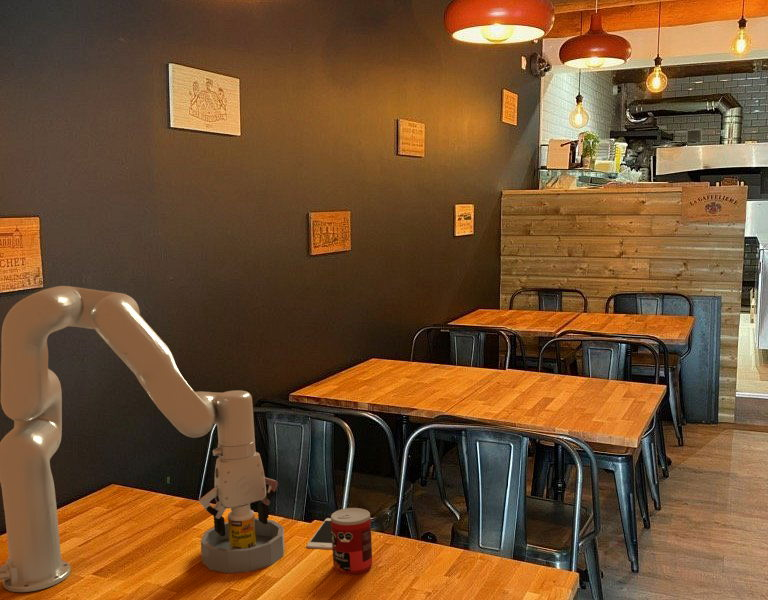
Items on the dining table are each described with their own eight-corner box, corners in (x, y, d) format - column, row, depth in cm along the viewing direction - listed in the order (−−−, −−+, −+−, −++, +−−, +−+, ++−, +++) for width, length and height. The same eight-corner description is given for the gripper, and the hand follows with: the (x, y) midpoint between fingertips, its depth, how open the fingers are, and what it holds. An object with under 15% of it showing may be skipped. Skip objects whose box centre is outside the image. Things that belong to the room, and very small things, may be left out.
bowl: (221, 580, 150) (220, 558, 150) (191, 552, 164) (190, 532, 164) (298, 556, 160) (296, 535, 159) (263, 531, 174) (262, 512, 173)
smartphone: (306, 549, 164) (306, 545, 164) (326, 521, 179) (326, 517, 179) (338, 551, 162) (337, 547, 162) (355, 522, 177) (355, 519, 177)
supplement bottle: (228, 556, 159) (226, 509, 158) (230, 545, 164) (228, 499, 163) (255, 554, 159) (253, 507, 158) (256, 543, 165) (254, 497, 164)
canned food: (328, 563, 156) (325, 512, 155) (364, 555, 159) (361, 504, 158) (341, 579, 149) (338, 525, 148) (378, 570, 152) (376, 517, 151)
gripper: (204, 462, 152) (210, 545, 153) (282, 445, 161) (286, 523, 163) (191, 454, 158) (196, 533, 160) (266, 438, 168) (271, 512, 169)
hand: (242, 528), depth 161 cm, fingers open, 9 cm apart
